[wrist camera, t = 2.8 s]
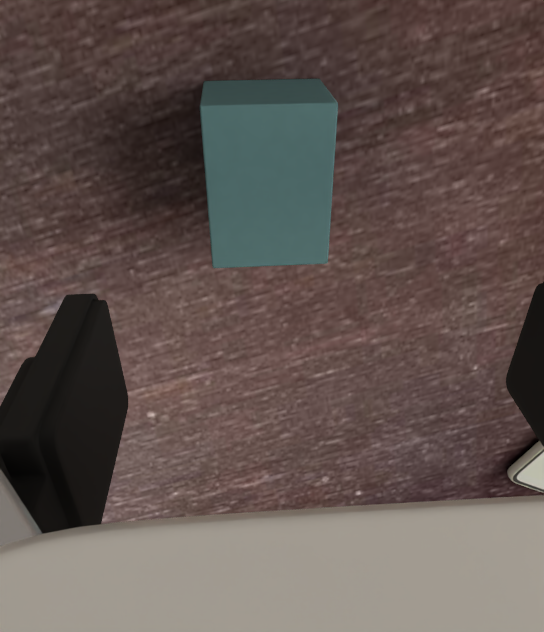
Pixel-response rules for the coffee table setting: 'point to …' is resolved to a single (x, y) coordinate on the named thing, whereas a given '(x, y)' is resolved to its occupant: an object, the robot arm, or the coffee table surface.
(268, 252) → the teal rectangular block
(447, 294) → the coffee table surface
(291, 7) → the coffee table surface
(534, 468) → the smartphone
